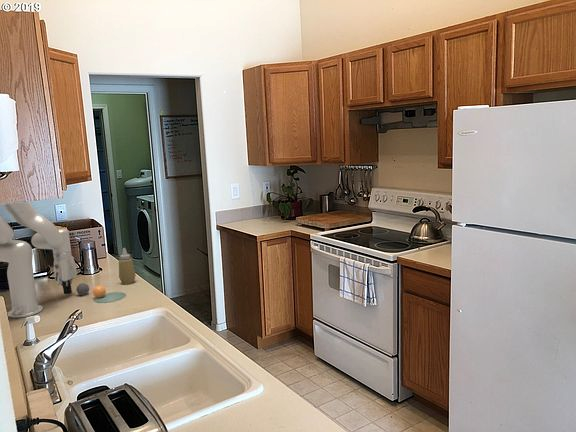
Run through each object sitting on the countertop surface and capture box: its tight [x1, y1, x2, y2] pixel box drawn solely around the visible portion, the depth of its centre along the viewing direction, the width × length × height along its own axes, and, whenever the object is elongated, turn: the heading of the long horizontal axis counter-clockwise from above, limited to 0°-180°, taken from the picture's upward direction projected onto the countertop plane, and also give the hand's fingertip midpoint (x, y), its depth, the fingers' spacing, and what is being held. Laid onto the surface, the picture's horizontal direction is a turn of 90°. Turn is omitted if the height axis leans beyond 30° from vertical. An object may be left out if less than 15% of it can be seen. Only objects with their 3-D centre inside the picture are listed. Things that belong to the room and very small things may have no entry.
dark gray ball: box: [76, 282, 90, 296], centre depth 222 cm, size 6×6×6 cm
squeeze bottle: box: [118, 247, 136, 285], centre depth 237 cm, size 8×8×18 cm
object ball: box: [92, 285, 107, 298], centre depth 217 cm, size 6×6×6 cm
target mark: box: [93, 291, 127, 304], centre depth 216 cm, size 14×14×1 cm
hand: (67, 293), depth 221 cm, fingers closed
